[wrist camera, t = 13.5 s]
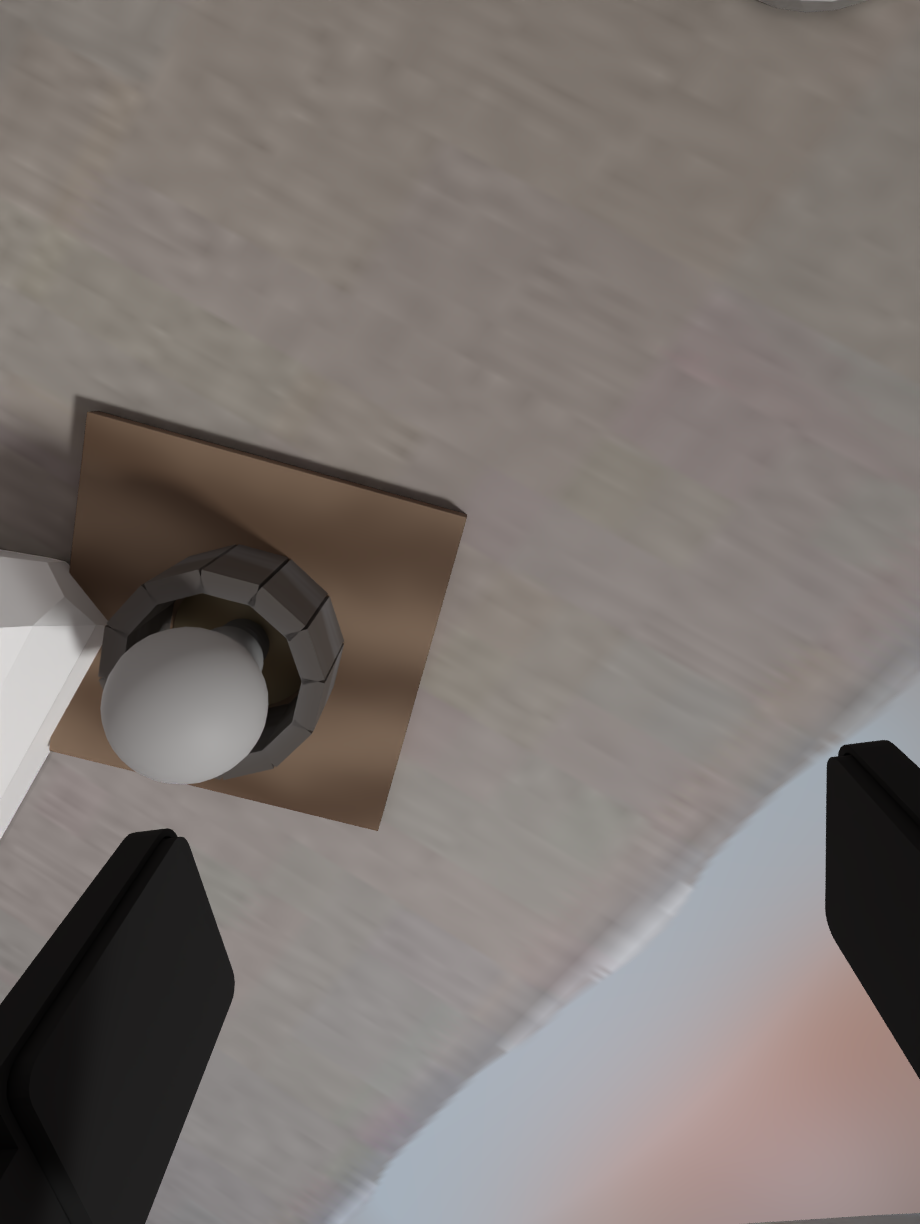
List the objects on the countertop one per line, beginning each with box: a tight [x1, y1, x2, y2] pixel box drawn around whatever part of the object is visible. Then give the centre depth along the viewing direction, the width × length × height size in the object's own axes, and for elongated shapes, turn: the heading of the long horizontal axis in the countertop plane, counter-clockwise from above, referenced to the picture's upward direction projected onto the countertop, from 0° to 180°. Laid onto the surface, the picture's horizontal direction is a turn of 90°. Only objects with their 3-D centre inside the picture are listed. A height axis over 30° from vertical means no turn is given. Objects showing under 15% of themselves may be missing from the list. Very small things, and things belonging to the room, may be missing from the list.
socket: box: [49, 411, 467, 831], centre depth 34 cm, size 18×18×6 cm
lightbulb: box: [100, 619, 269, 784], centre depth 30 cm, size 6×6×11 cm
